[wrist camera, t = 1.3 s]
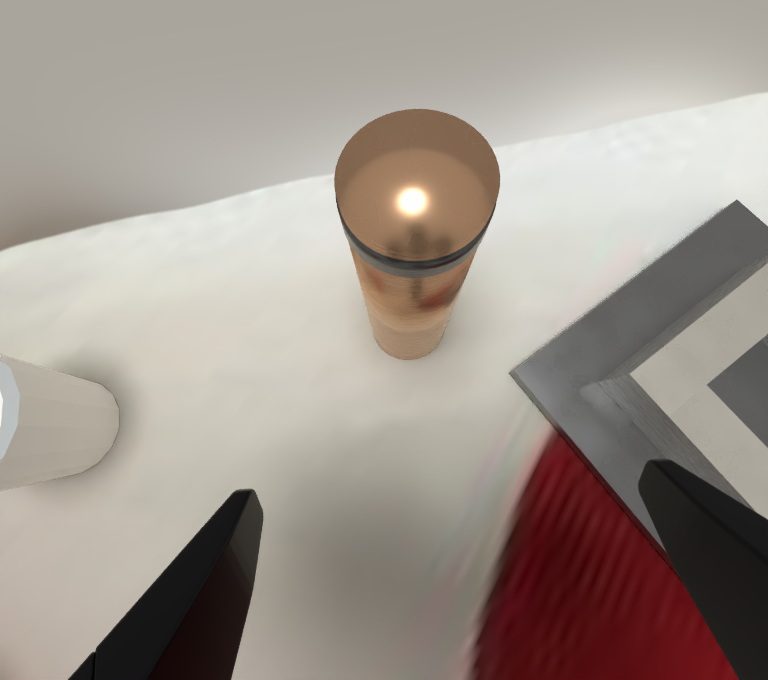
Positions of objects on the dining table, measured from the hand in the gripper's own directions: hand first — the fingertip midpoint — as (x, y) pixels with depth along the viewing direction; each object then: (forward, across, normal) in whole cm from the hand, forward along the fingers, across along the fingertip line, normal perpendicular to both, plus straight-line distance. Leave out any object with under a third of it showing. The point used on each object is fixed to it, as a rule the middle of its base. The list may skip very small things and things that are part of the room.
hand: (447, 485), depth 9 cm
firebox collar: (+10, -18, +8) cm, 23 cm away
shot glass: (+12, +21, +7) cm, 25 cm away
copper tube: (+15, 0, +4) cm, 15 cm away
